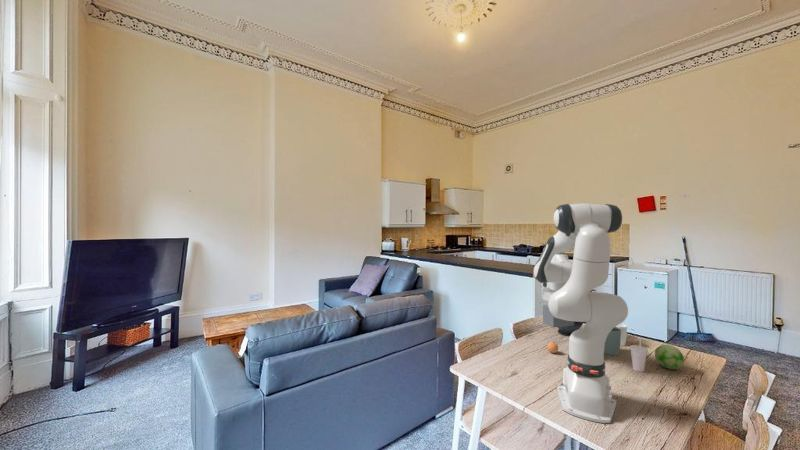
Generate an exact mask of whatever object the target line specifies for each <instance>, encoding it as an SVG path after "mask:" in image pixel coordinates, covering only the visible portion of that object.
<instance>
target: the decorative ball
mask: <svg viewBox="0 0 800 450" xmlns="http://www.w3.org/2000/svg"><path fill="white" fill-rule="evenodd" d="M654 358H655V360H656V361H657V362H658V363H659V364H660V365H661V366H662V367H663V368H665V369H669V370H677V369H678V370H679V369H680V368H682V367H683V365H684V363H685V356H684V355H683V353H682V351H681V350H680V349H679V348H678V347H675V346H673V345H672V344H671V345H670V344H662V345H660V346H658V347H656V349H655V350H654Z"/></svg>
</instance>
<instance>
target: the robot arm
mask: <svg viewBox="0 0 800 450" xmlns="http://www.w3.org/2000/svg"><path fill="white" fill-rule="evenodd" d="M553 222H554V226H555V228H556V229H557V230H558V231H557V232H556V233H555V234H554V235H553V236H550V237H549V238H548V239H547V241H546V243H545V245H544V247H543V249H542V252H541V253H540V256H539V258H538V260H537V262H536V263H535V265H534V267H533V277H534V279H535V280H536V281H537V282H539V283H540V284H541V286H542V287H541V299H542V300H543V301H546V302H547V305H548V307H549V310H550V312H551V314H552V315H553V316H554V317H555V318H559V319H562V320H566V321H576V322H583V323H584V325H582V326H581V327H580V328H579V329H578V330H576V331H574V332H573V333H572V334H571V335H570V336H568V337H569V338H568V354H567V360H566V361H567V366H566V367H564V368H563V370H562V371H563V372H562V373H563V375H562V382H561V385H558V386H557V388H556V390H557V394H558V398H559V403H560V407H561V409H562V411H564V412H566V413H568V414H569V415H572V416H574V417H578V418H581V419H584V420H587V421H591V422H596V423H602V424H610V423H611V422H612V419H613V416H614V413H615V410H616V407H617V400H616V399H614V398H613V394H611V392H610V391H612V386H611V385H610V378H609V377H608V376H607V374H606V362H605V360H604V358H605V357H604V356H605V353H604V347H605V341H606V338H607V336H608V334H609V333H610V332H611V330H612V329H613V328H614V327H615V326H617V325H618V324H620V323H622V324H623V322H625V320H626V319H627V318H628V315H629V307H628V304H627V302H626V301H625V299H624V298H623V297H622V296H620V295H616V294H614V293H613V294H612V293H608V292H595V291H593V289H595V288H598V287H601V286H602V285H604V284H605V283H606V282H607V280H608V279H609V272H610V271H609V270H610V261H611V260H610V259H611V240H610V239H611V238H610V234H609V233H614V232H617V231H618V230H619V229H620V228H621V226H622V223H623V213H622V210H621V209H620V208H619V207H618V206H617V205H614V204H608V203H606V204H602V203H587V202H584V203H582V202H581V203H579V202H578V203H571V204H569V203H565V204H560V205H558V206H557V207H556V208H555V211H554V213H553ZM570 251H573V255H572V257H573V259H572V263H571V261H570V260H569V256H568V254H566V253H564V252H570ZM590 291H592V292H590Z"/></svg>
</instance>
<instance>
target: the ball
mask: <svg viewBox="0 0 800 450" xmlns="http://www.w3.org/2000/svg"><path fill="white" fill-rule="evenodd" d="M546 345H547V346H546V349H547V350H548V352H550V353H552V354H556V353H558V351H559V346H558V344H557V343H556V342H553V341H550V342H549V343H547V344H546Z"/></svg>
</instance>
